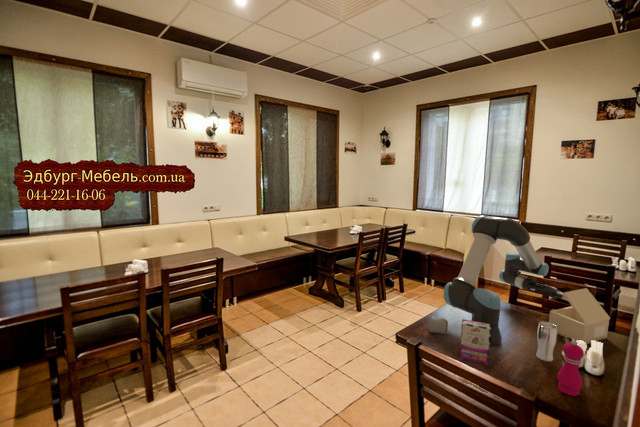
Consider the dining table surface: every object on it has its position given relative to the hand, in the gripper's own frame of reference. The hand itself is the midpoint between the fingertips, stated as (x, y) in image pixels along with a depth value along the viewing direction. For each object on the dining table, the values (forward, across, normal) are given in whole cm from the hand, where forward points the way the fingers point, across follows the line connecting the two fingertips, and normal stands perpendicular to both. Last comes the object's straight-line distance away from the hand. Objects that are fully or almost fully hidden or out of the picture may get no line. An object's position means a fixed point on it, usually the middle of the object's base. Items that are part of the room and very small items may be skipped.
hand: (570, 298), depth 161 cm
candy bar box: (+4, +68, -16) cm, 70 cm away
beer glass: (+14, +38, -16) cm, 44 cm away
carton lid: (+8, +2, 0) cm, 8 cm away
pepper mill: (+31, +52, -16) cm, 63 cm away
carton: (+6, +2, -16) cm, 17 cm away
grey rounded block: (-21, +66, -16) cm, 71 cm away
